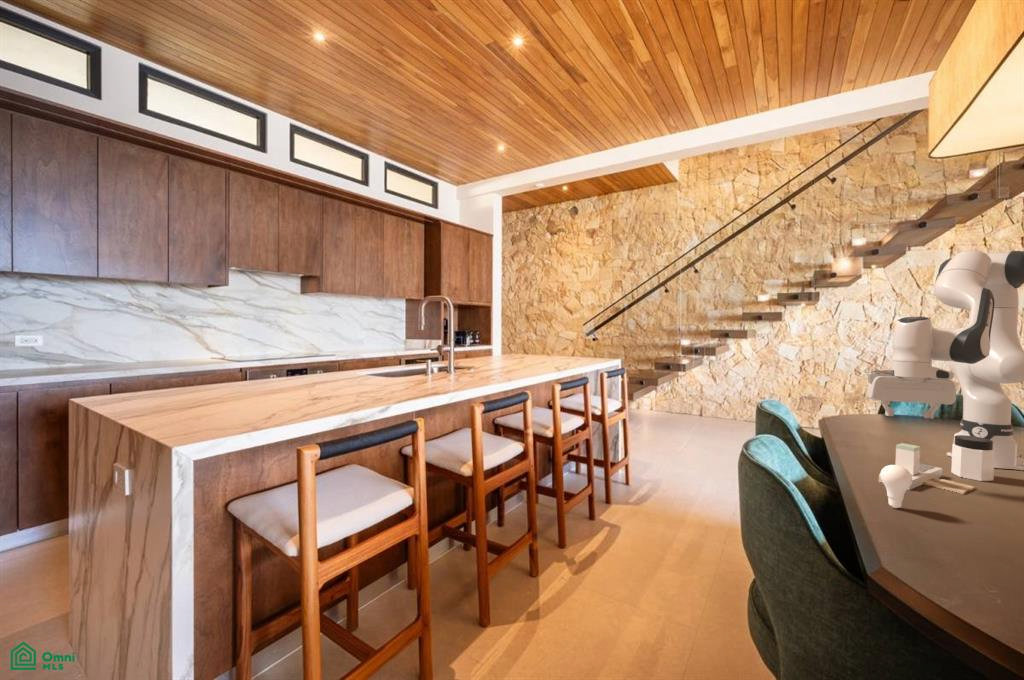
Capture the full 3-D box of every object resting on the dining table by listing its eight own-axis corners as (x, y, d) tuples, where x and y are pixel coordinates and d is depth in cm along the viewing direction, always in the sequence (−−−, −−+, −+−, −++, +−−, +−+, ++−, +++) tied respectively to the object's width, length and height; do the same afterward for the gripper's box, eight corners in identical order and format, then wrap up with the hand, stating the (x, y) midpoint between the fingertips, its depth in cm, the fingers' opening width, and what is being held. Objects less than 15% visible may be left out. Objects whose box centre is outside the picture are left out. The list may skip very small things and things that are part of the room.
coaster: (932, 478, 131) (932, 476, 131) (974, 488, 123) (974, 486, 123) (920, 483, 127) (920, 481, 127) (963, 494, 119) (963, 492, 119)
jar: (994, 477, 132) (996, 439, 132) (992, 483, 127) (994, 443, 127) (952, 470, 139) (954, 433, 139) (949, 475, 134) (951, 437, 134)
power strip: (919, 467, 142) (919, 458, 142) (948, 473, 136) (948, 465, 136) (878, 482, 128) (878, 472, 128) (909, 490, 122) (909, 480, 122)
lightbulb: (880, 501, 114) (881, 460, 113) (911, 508, 109) (913, 465, 109) (877, 507, 109) (879, 465, 109) (910, 515, 105) (912, 471, 105)
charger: (901, 468, 132) (902, 443, 132) (919, 472, 128) (920, 446, 128) (895, 470, 130) (896, 444, 130) (913, 475, 126) (914, 448, 126)
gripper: (873, 370, 128) (871, 416, 129) (961, 373, 122) (958, 422, 122) (863, 368, 134) (862, 412, 135) (946, 371, 128) (944, 417, 128)
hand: (908, 417), depth 128 cm, fingers open, 8 cm apart
